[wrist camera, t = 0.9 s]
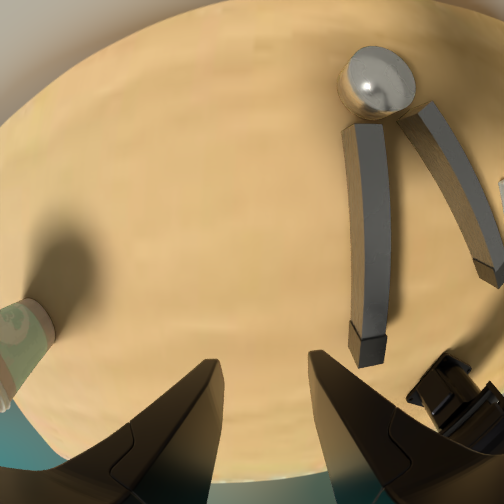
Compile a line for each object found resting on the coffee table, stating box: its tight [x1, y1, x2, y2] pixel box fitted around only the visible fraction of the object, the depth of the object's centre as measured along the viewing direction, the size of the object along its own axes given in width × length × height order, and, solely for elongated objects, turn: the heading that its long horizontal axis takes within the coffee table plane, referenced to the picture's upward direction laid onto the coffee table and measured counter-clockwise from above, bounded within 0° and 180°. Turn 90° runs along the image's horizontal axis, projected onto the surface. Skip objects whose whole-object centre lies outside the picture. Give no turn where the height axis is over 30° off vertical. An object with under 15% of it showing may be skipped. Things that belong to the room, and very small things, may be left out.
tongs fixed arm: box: [396, 101, 504, 289], centre depth 16 cm, size 16×2×3 cm, turn 42°
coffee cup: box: [0, 298, 55, 412], centre depth 16 cm, size 8×8×12 cm
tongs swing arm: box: [337, 46, 416, 369], centre depth 16 cm, size 21×5×3 cm, turn 7°
